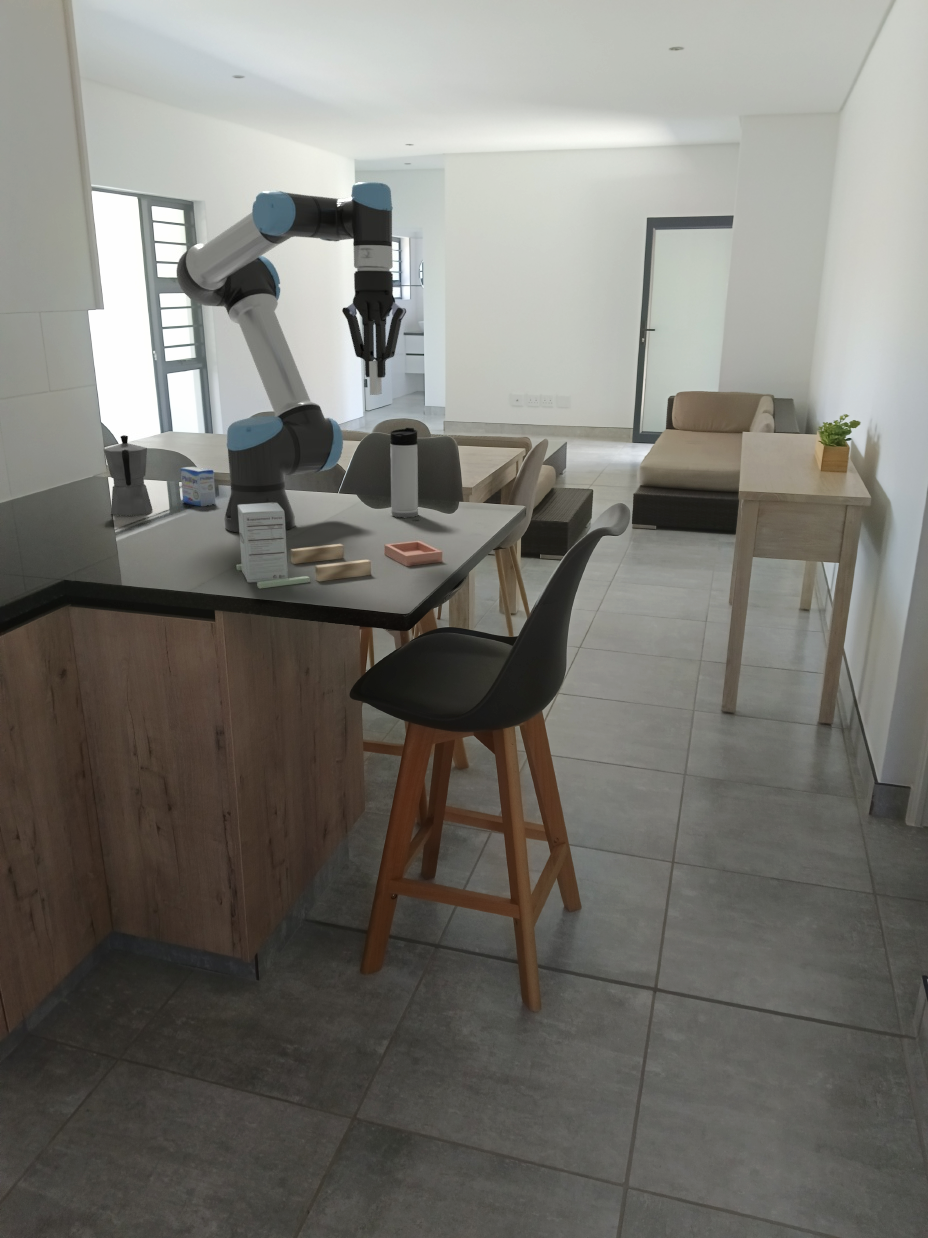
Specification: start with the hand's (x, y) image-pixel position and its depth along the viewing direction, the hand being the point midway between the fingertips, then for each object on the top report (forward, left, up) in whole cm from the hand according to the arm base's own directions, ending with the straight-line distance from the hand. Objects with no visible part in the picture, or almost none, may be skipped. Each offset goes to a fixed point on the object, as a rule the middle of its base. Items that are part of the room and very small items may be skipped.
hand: (375, 394), depth 187 cm
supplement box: (-8, -36, -30) cm, 48 cm away
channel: (+2, -27, -29) cm, 40 cm away
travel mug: (-2, +22, -30) cm, 37 cm away
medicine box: (-55, +19, -30) cm, 65 cm away
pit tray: (+13, -16, -29) cm, 36 cm away
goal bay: (-7, -36, -29) cm, 47 cm away
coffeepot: (-63, +3, -30) cm, 70 cm away
